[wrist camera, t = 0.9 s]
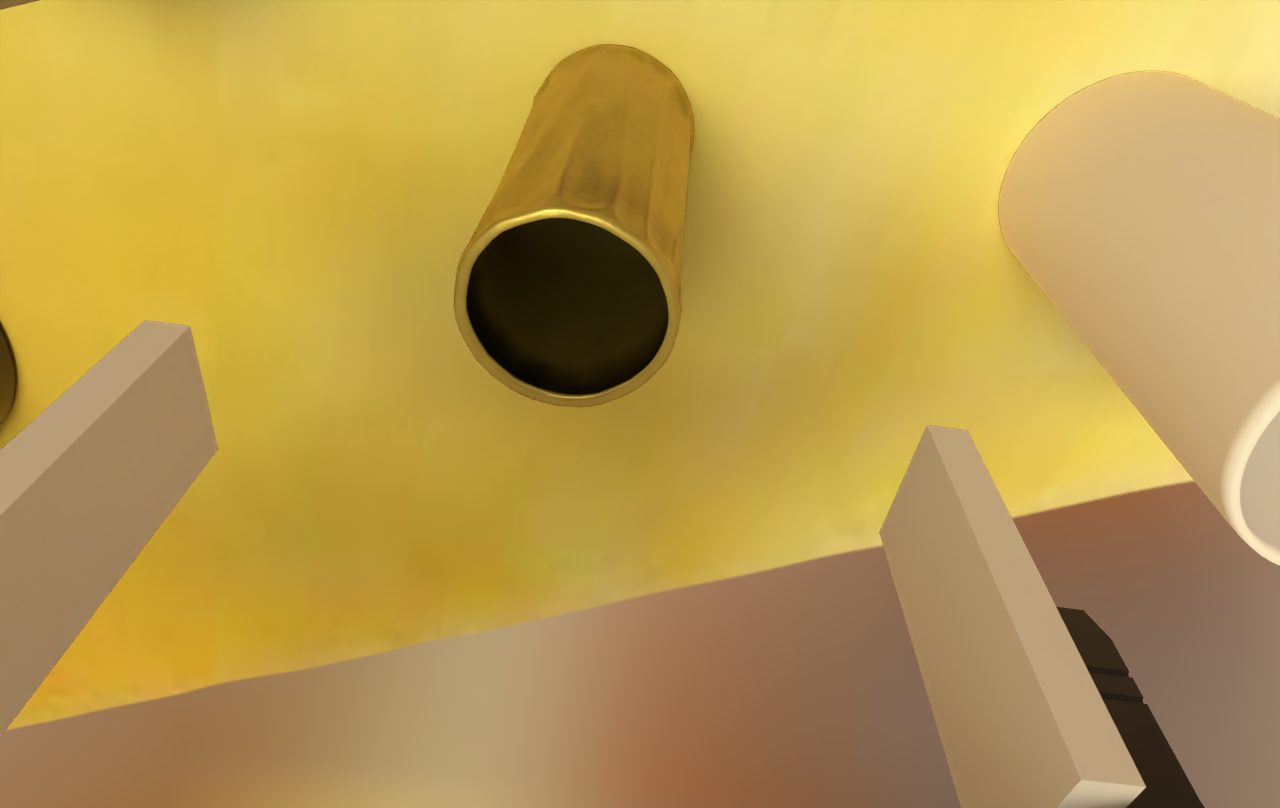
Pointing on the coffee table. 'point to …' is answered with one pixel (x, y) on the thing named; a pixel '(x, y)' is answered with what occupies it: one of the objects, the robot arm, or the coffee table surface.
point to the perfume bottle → (13, 3)
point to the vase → (584, 235)
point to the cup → (1168, 269)
